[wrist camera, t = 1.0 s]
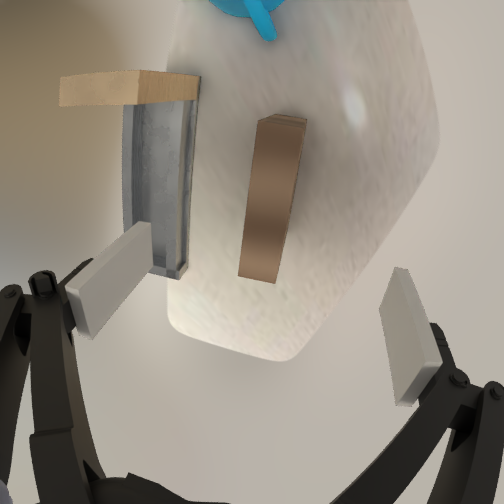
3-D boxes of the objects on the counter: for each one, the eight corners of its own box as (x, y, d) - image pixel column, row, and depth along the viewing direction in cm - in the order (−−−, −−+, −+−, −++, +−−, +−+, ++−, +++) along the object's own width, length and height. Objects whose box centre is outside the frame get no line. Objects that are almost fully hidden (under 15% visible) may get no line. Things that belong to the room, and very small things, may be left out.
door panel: (275, 114, 28) (258, 120, 19) (306, 119, 28) (303, 128, 19) (259, 227, 34) (237, 276, 25) (286, 232, 34) (275, 283, 25)
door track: (136, 76, 28) (60, 77, 18) (201, 76, 27) (139, 70, 17) (134, 255, 39) (81, 310, 28) (187, 268, 38) (144, 332, 28)
